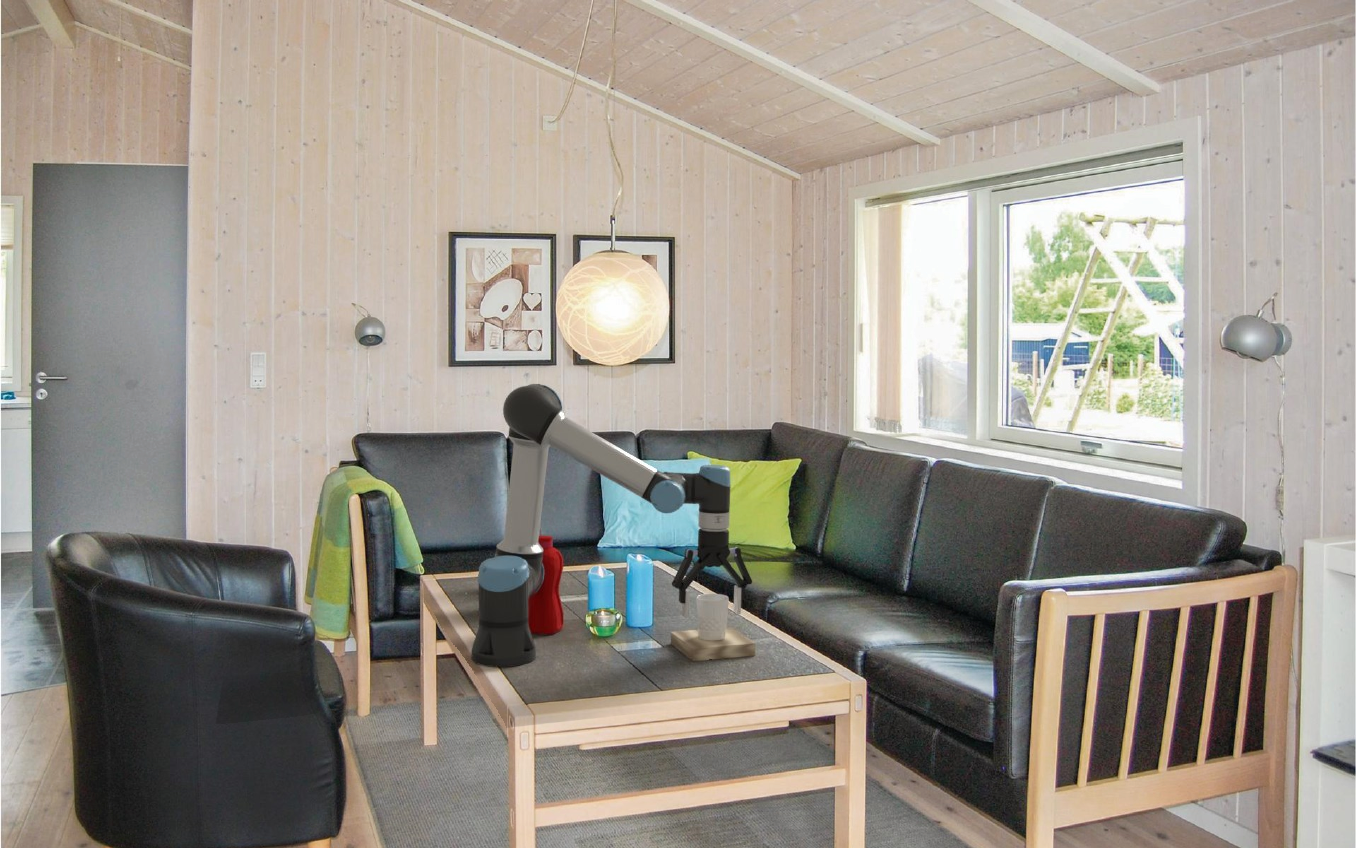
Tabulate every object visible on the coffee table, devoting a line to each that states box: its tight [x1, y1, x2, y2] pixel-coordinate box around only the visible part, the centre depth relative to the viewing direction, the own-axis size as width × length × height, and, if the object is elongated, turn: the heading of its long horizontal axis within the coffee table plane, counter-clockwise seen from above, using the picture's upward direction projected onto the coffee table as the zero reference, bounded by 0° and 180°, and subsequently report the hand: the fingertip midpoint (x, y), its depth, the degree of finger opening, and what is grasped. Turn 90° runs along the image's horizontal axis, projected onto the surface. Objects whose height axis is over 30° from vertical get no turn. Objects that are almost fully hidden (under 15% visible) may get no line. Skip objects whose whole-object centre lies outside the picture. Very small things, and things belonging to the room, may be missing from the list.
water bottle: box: [528, 534, 565, 636], centre depth 289 cm, size 9×11×25 cm
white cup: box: [696, 593, 730, 641], centre depth 272 cm, size 8×8×10 cm
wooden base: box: [670, 626, 756, 662], centre depth 273 cm, size 16×16×3 cm
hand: (711, 614), depth 272 cm, fingers open, 13 cm apart
